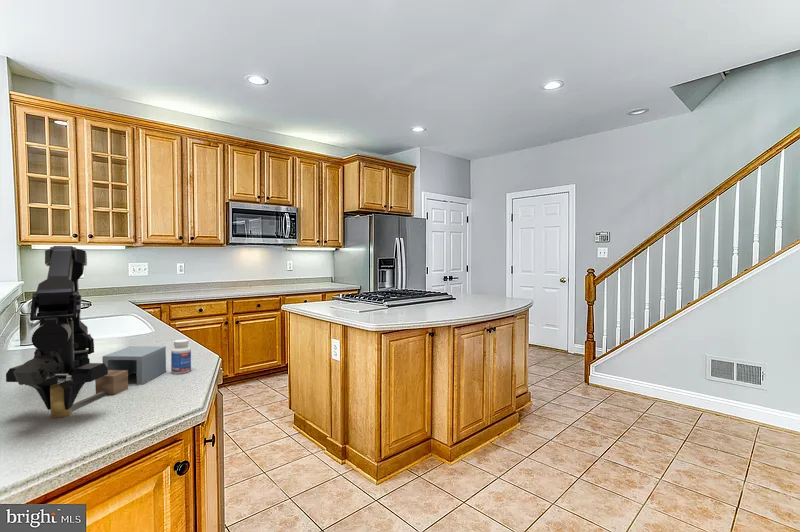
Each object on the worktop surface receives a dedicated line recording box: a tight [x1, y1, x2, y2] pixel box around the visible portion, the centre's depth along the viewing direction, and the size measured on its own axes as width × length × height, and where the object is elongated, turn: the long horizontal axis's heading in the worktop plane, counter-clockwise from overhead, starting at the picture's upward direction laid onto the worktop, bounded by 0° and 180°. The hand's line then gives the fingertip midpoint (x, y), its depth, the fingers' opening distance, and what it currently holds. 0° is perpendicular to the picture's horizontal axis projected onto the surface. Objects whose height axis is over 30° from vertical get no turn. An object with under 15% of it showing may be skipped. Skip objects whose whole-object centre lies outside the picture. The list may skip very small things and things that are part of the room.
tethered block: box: [50, 370, 129, 419], centre depth 98 cm, size 5×19×7 cm, turn 177°
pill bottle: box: [170, 338, 192, 375], centre depth 123 cm, size 6×5×10 cm
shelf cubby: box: [101, 345, 167, 386], centre depth 116 cm, size 11×12×8 cm
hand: (59, 409), depth 90 cm, fingers closed on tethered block, 4 cm apart
